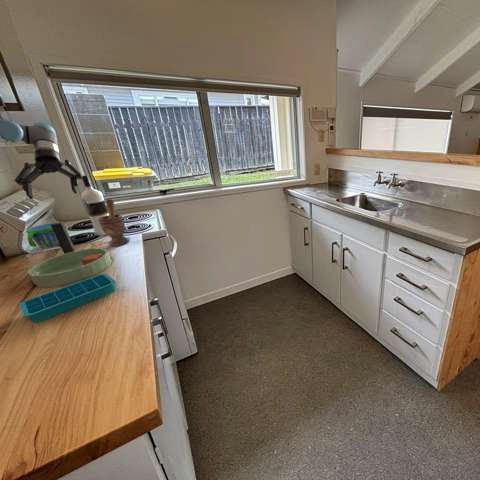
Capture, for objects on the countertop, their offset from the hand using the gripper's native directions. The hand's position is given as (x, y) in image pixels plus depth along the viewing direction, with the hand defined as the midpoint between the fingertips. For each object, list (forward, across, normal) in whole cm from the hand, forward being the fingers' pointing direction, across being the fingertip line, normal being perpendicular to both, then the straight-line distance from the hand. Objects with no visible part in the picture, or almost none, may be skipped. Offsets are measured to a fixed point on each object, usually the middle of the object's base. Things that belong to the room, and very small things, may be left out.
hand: (52, 194), depth 105 cm
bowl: (+37, -4, +1) cm, 37 cm away
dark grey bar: (+26, 0, -11) cm, 28 cm away
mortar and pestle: (+18, -15, -18) cm, 30 cm away
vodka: (+2, -8, -34) cm, 35 cm away
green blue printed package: (+7, +12, -29) cm, 32 cm away
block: (+37, -10, +2) cm, 39 cm away
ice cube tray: (+54, -7, +18) cm, 57 cm away
